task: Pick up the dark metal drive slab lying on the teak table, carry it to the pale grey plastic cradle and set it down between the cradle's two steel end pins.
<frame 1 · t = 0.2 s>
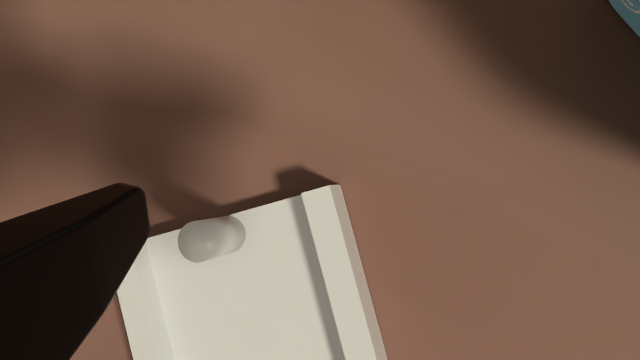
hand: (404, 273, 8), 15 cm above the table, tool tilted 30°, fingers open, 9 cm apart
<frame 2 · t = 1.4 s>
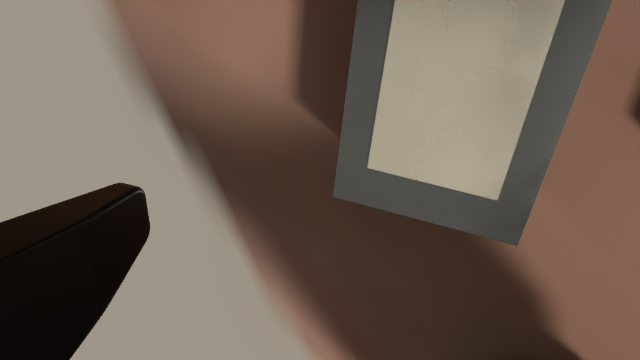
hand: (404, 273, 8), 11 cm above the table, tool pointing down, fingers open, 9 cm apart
drive: (469, 36, 18), on the table
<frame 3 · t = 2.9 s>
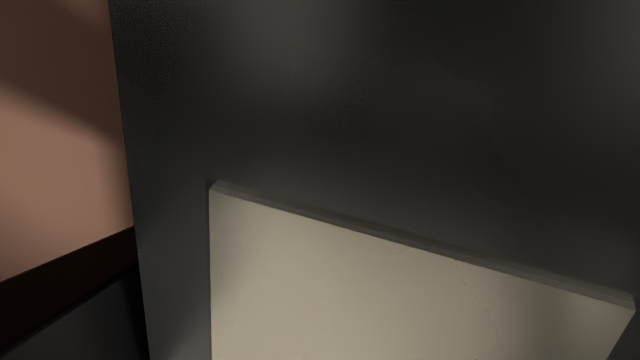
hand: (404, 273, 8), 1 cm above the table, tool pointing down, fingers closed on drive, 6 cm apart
drive: (417, 228, 9), on the table, touching gripper
when the fingers open (3 cm above the table, at t = 6.7 s): drive drops 1 cm, resting on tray.
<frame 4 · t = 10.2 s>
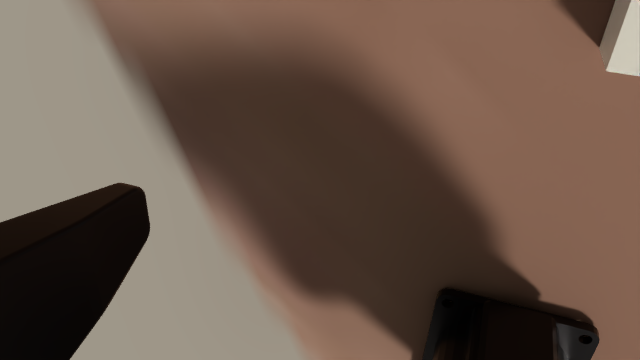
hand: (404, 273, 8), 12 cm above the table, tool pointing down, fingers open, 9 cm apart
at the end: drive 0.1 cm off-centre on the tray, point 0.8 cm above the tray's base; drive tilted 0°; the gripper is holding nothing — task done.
